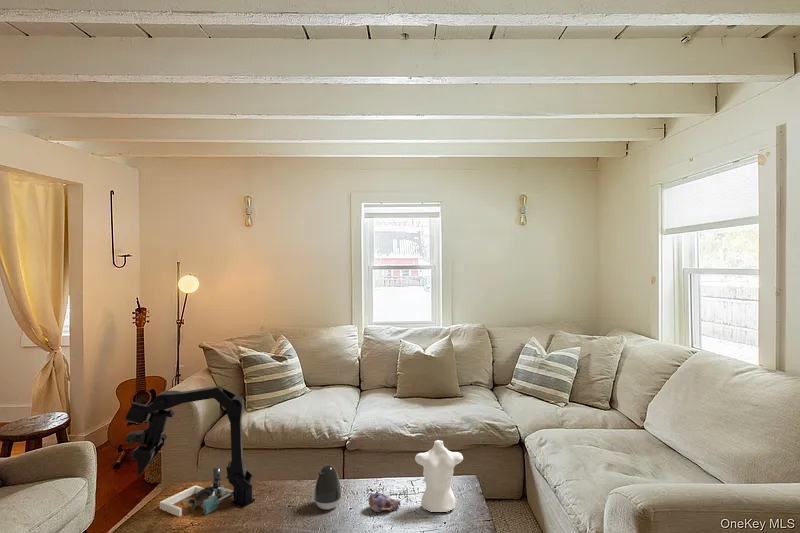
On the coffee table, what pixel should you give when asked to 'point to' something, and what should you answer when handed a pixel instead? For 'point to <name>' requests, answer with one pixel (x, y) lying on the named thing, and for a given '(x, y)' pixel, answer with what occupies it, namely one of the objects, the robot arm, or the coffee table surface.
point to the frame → (176, 510)
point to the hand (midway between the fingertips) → (143, 468)
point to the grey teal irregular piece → (213, 502)
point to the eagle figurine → (199, 498)
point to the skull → (382, 502)
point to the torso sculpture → (438, 477)
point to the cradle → (217, 491)
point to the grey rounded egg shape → (327, 488)
